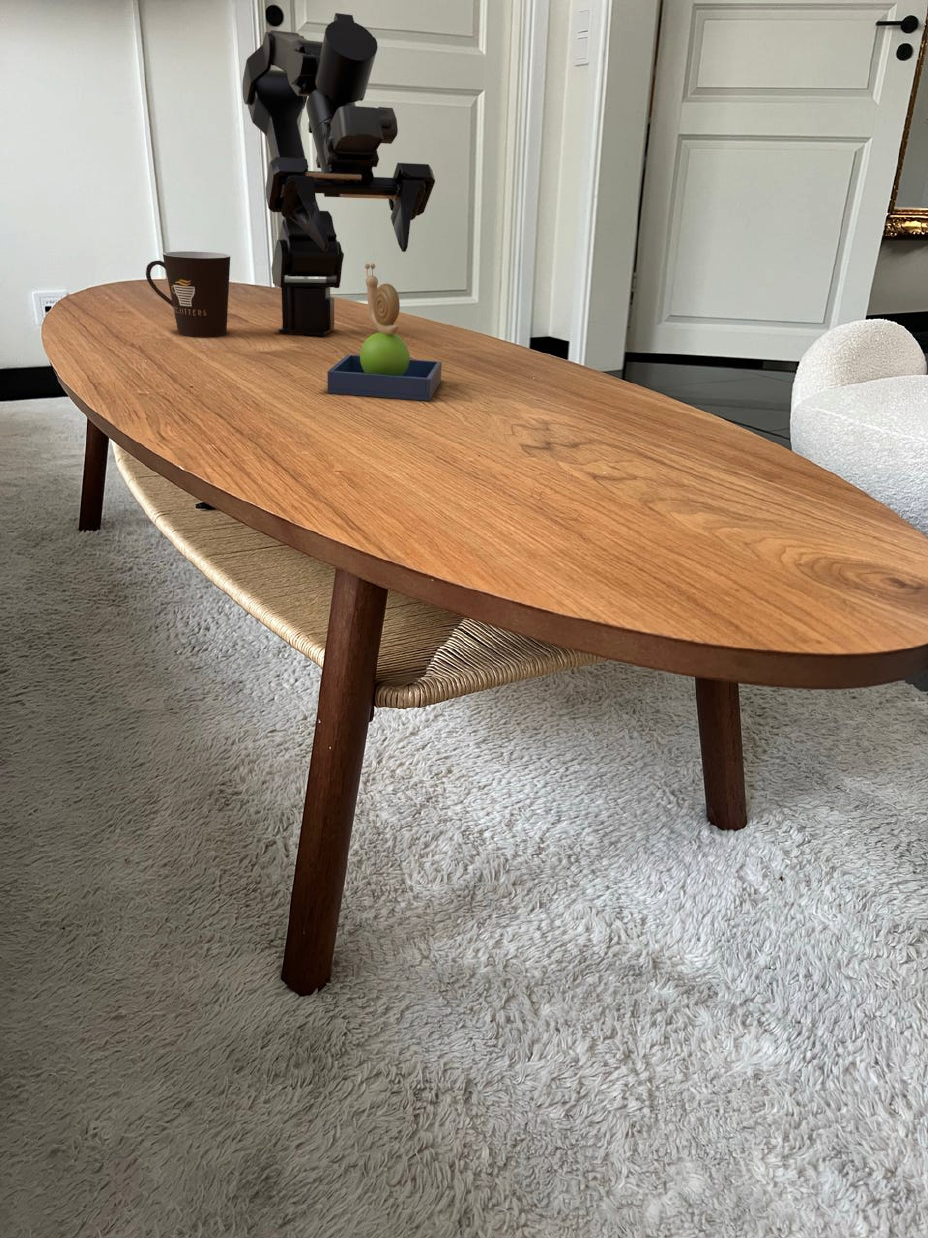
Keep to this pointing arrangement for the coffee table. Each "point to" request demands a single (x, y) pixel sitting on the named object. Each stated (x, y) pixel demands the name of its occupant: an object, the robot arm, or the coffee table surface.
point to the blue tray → (385, 380)
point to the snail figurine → (383, 332)
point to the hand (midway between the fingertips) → (366, 248)
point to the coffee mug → (196, 291)
